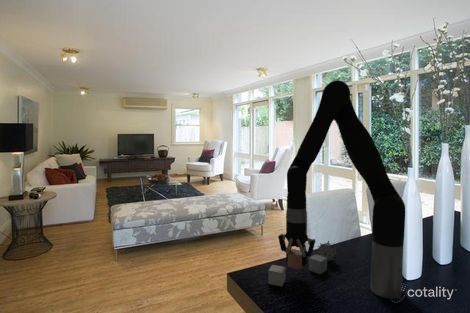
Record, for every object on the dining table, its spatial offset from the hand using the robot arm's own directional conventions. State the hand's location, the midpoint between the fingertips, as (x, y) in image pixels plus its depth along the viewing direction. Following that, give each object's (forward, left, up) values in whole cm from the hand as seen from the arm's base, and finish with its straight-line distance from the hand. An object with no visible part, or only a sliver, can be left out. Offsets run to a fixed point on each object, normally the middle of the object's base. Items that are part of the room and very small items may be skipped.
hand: (296, 263), depth 109 cm
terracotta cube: (0, 0, -1) cm, 1 cm away
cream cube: (+4, +8, -5) cm, 10 cm away
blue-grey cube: (-6, -9, -5) cm, 12 cm away
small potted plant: (-7, -19, -5) cm, 21 cm away
